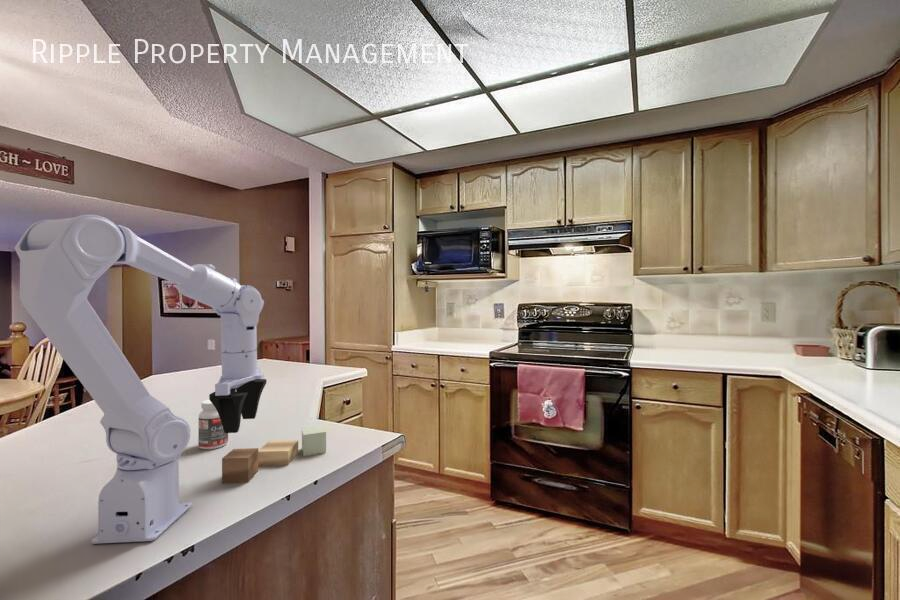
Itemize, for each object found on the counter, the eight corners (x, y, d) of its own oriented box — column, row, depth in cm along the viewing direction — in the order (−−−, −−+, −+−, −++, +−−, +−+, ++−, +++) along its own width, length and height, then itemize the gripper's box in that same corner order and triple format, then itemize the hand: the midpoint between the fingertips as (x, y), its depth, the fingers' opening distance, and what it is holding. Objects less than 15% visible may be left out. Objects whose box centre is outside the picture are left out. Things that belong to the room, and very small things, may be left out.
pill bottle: (214, 451, 86) (214, 404, 86) (192, 449, 87) (191, 403, 87) (234, 441, 91) (234, 398, 91) (212, 440, 92) (212, 397, 92)
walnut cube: (248, 482, 71) (248, 457, 71) (222, 483, 71) (221, 458, 71) (258, 471, 76) (258, 448, 76) (233, 472, 75) (233, 448, 75)
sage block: (326, 453, 85) (326, 431, 85) (303, 456, 83) (303, 434, 83) (323, 446, 89) (323, 425, 89) (301, 449, 87) (301, 428, 87)
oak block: (288, 466, 79) (288, 450, 79) (257, 467, 78) (257, 451, 78) (298, 454, 85) (298, 440, 85) (269, 455, 84) (269, 440, 84)
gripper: (246, 356, 66) (247, 438, 66) (275, 345, 81) (276, 412, 81) (201, 357, 65) (202, 440, 66) (238, 346, 80) (240, 413, 80)
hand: (240, 425), depth 73 cm, fingers open, 7 cm apart
